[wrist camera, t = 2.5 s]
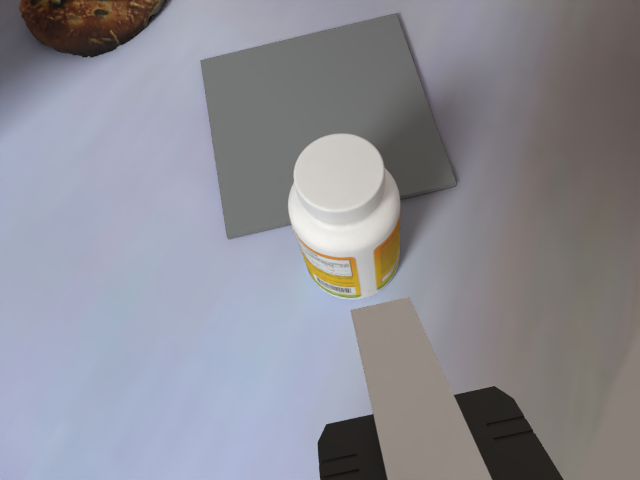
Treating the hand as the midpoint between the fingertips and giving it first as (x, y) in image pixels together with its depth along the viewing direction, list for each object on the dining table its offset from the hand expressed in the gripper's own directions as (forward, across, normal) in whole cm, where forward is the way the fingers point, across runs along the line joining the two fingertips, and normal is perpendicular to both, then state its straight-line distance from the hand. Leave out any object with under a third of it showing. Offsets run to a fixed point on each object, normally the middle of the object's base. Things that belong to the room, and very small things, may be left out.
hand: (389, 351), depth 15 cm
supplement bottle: (+19, 0, -5) cm, 20 cm away
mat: (+26, 0, +2) cm, 26 cm away
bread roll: (+37, -14, +13) cm, 42 cm away
